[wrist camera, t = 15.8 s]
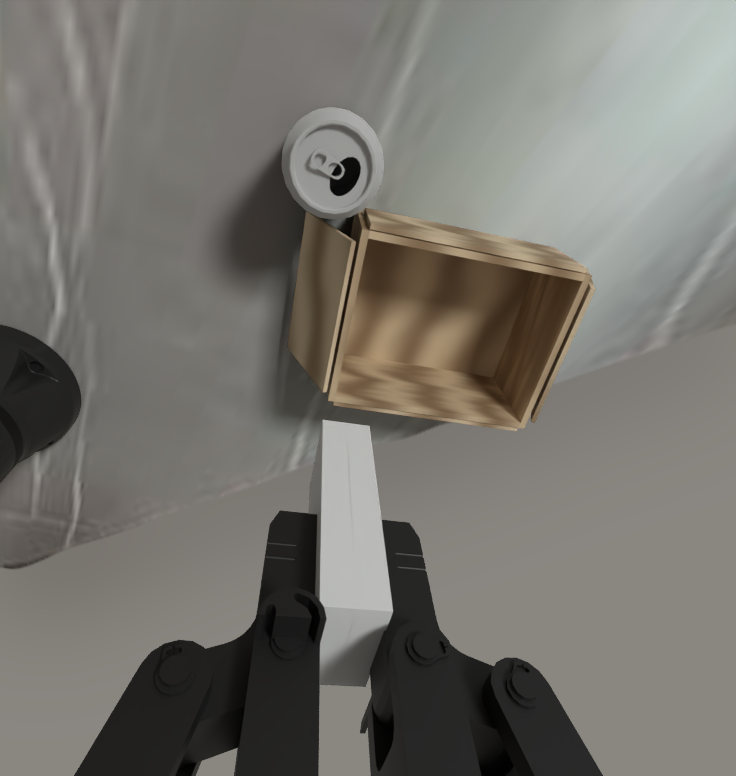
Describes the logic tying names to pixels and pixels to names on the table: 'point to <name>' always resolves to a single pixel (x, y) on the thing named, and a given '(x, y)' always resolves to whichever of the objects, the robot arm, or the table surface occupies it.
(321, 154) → the can
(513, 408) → the carton
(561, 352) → the flap right
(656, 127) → the table surface
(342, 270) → the flap left
